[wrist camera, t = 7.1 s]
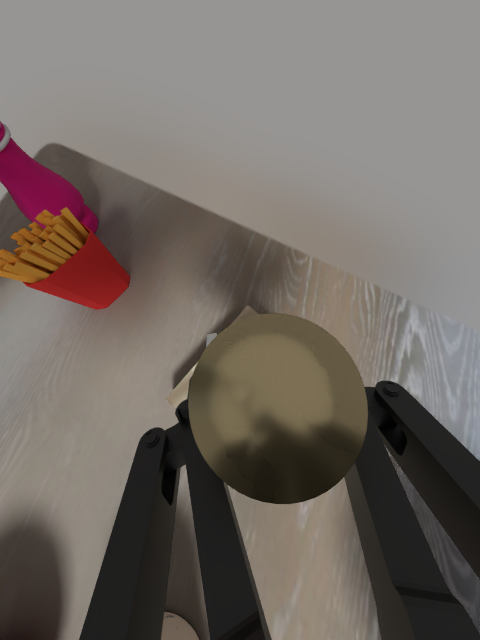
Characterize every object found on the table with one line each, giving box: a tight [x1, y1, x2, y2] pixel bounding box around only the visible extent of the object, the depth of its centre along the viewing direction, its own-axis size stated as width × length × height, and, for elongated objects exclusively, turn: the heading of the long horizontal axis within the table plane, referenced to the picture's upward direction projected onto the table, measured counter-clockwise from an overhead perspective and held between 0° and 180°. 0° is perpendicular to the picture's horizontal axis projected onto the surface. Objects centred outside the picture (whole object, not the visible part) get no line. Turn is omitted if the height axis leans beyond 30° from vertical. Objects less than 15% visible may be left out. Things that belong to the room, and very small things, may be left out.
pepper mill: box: [0, 122, 98, 233], centre depth 23 cm, size 7×7×20 cm
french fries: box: [0, 207, 130, 310], centre depth 24 cm, size 8×4×12 cm, turn 141°
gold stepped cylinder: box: [188, 313, 368, 504], centre depth 15 cm, size 6×6×16 cm
